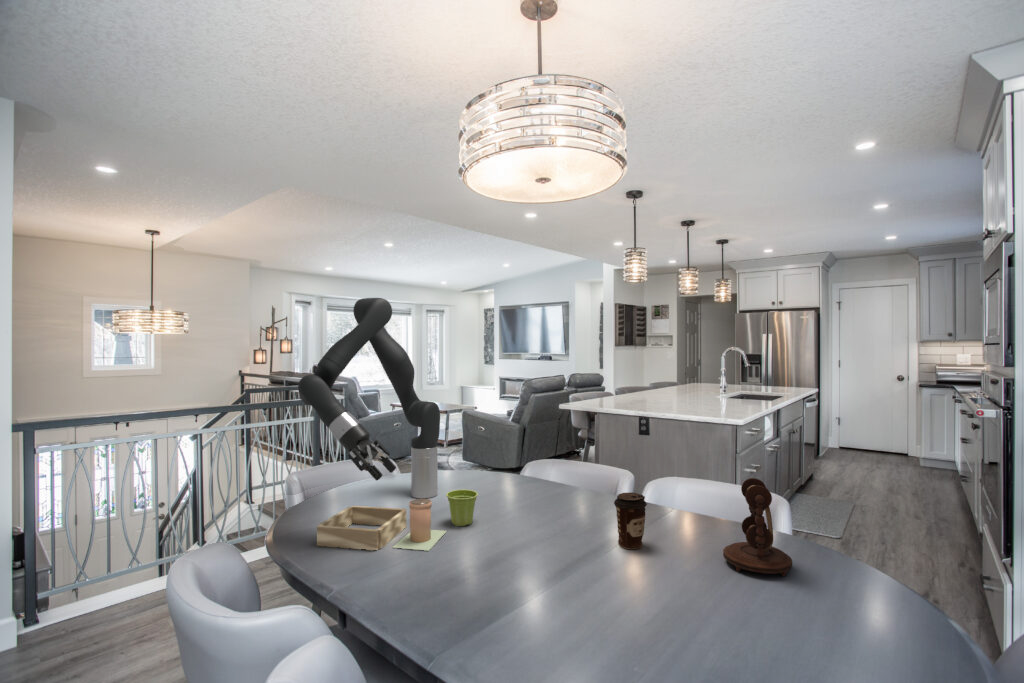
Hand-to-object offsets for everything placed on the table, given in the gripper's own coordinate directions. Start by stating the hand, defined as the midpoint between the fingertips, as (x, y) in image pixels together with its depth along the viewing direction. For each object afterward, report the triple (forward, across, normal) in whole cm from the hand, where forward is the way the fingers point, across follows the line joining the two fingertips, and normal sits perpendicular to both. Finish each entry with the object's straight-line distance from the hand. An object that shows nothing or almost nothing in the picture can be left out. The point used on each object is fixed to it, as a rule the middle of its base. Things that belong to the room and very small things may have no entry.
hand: (387, 474), depth 141 cm
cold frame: (+7, 0, +17) cm, 19 cm away
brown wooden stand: (+80, 0, -54) cm, 96 cm away
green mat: (+19, 0, +5) cm, 20 cm away
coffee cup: (+59, +7, -34) cm, 69 cm away
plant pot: (+24, +15, +1) cm, 29 cm away
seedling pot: (+19, 0, +5) cm, 20 cm away
